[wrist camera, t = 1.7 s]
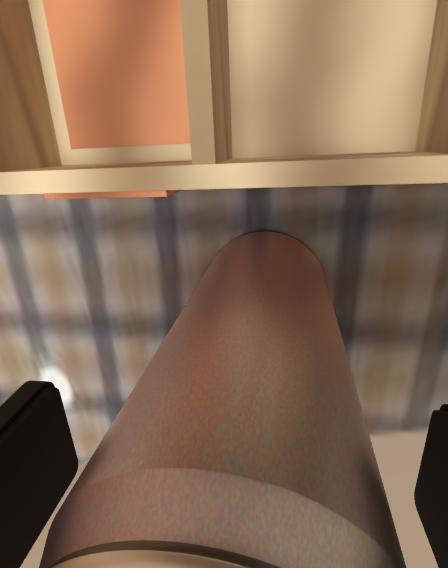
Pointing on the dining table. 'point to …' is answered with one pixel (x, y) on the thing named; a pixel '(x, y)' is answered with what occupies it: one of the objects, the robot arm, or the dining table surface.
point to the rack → (220, 95)
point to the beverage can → (237, 437)
